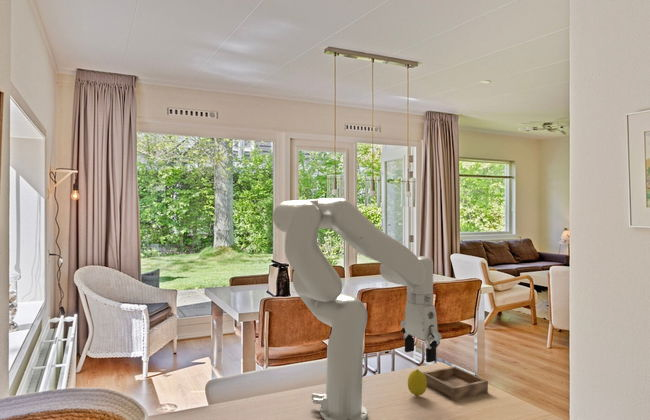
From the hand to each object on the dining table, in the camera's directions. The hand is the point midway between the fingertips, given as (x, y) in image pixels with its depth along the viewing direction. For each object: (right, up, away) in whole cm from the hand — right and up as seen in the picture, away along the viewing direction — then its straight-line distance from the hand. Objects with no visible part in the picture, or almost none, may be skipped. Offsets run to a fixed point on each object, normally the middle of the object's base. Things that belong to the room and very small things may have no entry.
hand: (419, 356), depth 132 cm
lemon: (-1, -12, 0) cm, 12 cm away
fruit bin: (+12, -12, +7) cm, 18 cm away
